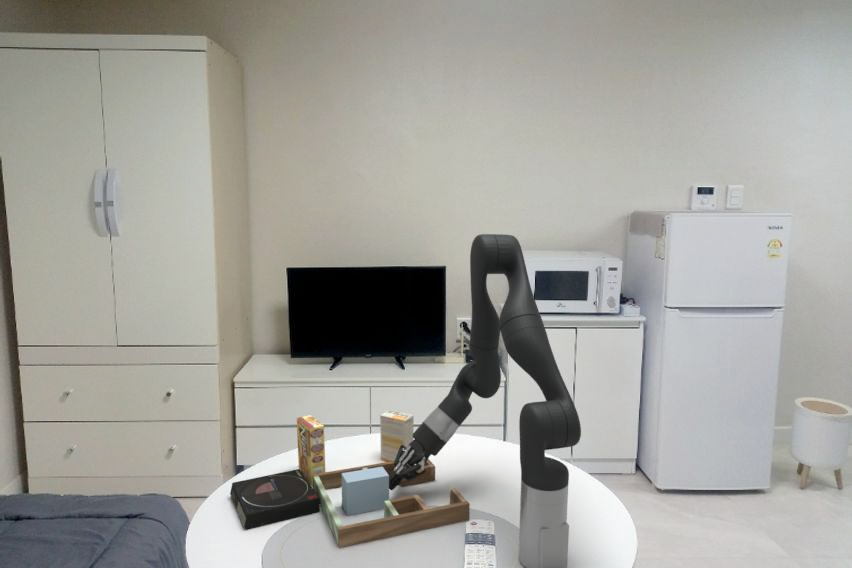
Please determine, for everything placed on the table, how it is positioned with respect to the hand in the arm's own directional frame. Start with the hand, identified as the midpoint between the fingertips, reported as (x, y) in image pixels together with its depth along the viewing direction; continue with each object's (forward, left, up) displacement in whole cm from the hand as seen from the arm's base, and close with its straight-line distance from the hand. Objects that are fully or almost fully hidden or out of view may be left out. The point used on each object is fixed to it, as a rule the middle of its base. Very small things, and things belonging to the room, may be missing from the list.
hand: (388, 487), depth 148 cm
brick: (0, +6, -4) cm, 7 cm away
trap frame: (-1, 0, -4) cm, 4 cm away
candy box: (+19, +14, -4) cm, 24 cm away
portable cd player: (+9, +25, -4) cm, 27 cm away
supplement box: (+21, -10, -4) cm, 23 cm away
